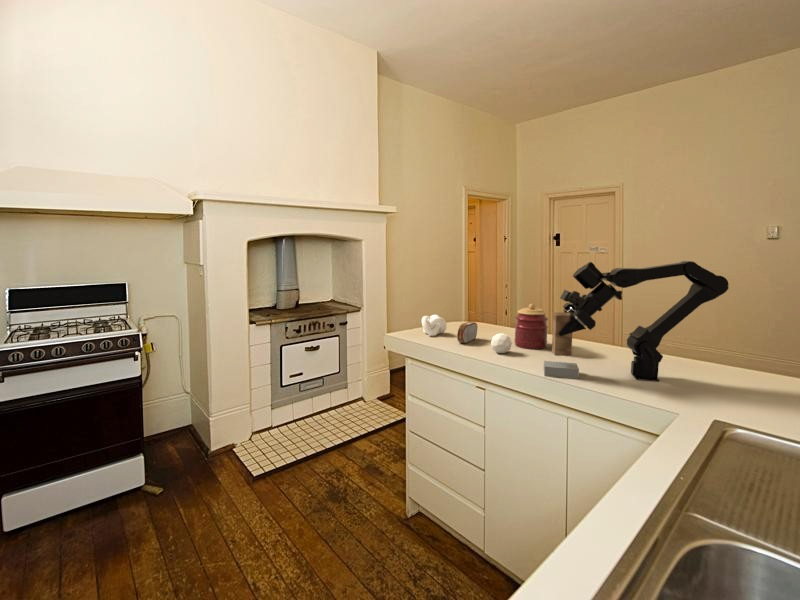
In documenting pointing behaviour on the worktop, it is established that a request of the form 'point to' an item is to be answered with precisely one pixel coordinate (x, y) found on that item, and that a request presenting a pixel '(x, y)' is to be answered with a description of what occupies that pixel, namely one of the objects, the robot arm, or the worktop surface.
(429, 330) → the white lumpy piece
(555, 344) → the walnut block
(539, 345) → the canister
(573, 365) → the grey base plate
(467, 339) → the tin
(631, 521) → the worktop surface
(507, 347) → the ball
